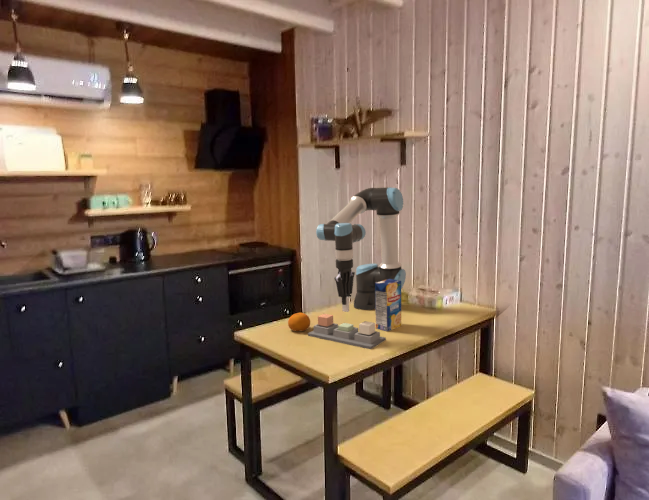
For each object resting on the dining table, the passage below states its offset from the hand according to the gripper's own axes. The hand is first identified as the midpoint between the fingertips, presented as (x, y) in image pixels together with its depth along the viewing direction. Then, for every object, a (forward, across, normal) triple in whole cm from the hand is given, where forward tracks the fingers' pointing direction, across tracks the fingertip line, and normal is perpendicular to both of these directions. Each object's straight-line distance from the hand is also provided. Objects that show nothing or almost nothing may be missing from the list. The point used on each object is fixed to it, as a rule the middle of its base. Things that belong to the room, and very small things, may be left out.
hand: (345, 311), depth 216 cm
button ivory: (+8, +1, +11) cm, 14 cm away
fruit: (+13, +3, -25) cm, 28 cm away
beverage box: (+13, -22, +9) cm, 27 cm away
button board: (+12, +1, 0) cm, 12 cm away
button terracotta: (+8, +1, -11) cm, 13 cm away
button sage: (+10, +1, 0) cm, 10 cm away
